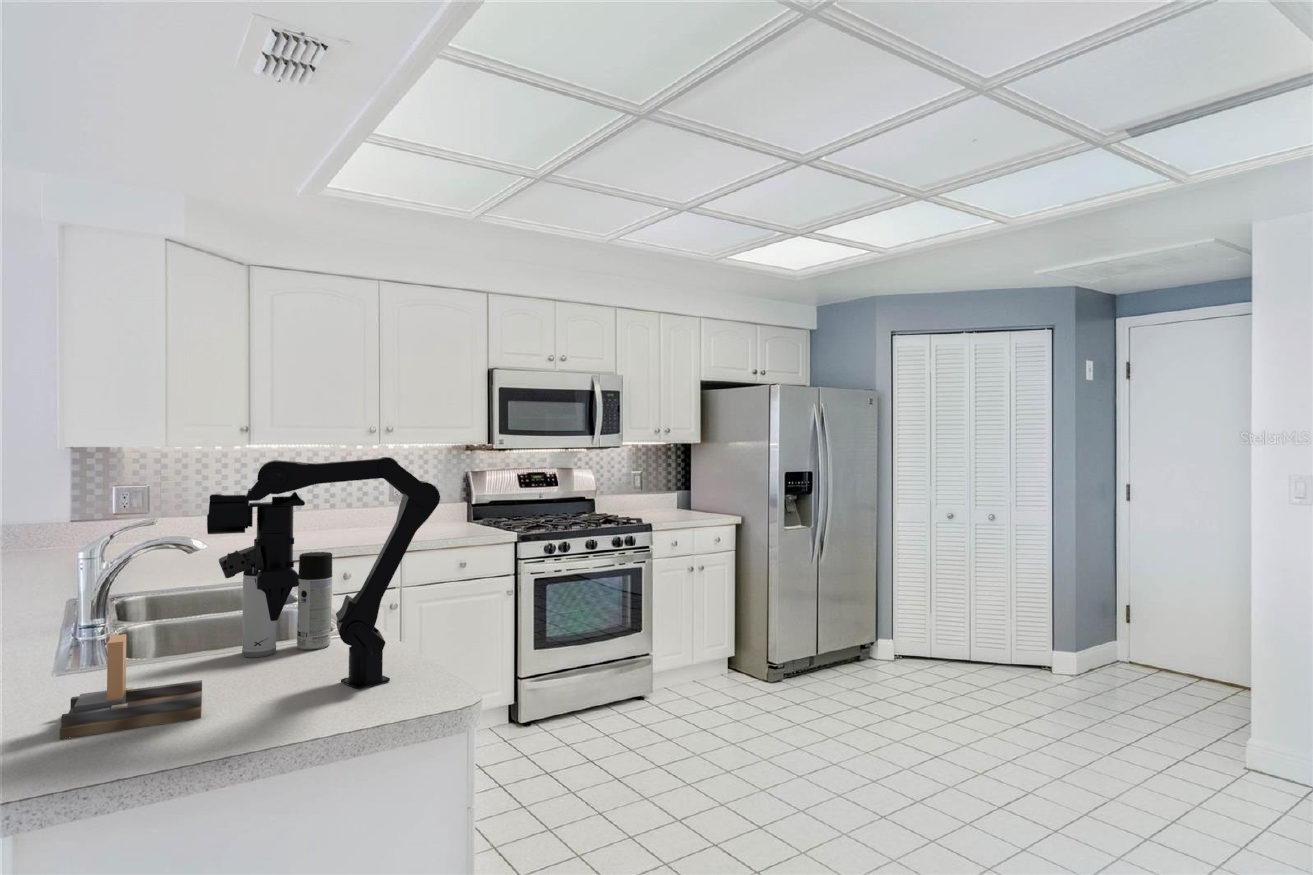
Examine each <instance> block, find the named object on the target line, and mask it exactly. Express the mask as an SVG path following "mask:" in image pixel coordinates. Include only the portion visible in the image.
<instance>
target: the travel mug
mask: <svg viewBox="0 0 1313 875" xmlns="http://www.w3.org/2000/svg"><path fill="white" fill-rule="evenodd" d="M258 573H259V572H257V574H258ZM257 574H253V568H251V569H248V570H245V571H243V573H242V577H243V578H242V632H241V633H242V642H241V644H242V646H241V647H242V648H241V651H242V654H241V655H242V656H243V657H245V658H250V659H251V658H263V657H267V656H271V655H274V654H275V653H276V652H277V621H271V620H270V616H269V611H268V606H267V601H266V596H265V593H264V592H263V591H262V590H259V589H257V587H256V584H255V579H256V575H257Z"/></svg>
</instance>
